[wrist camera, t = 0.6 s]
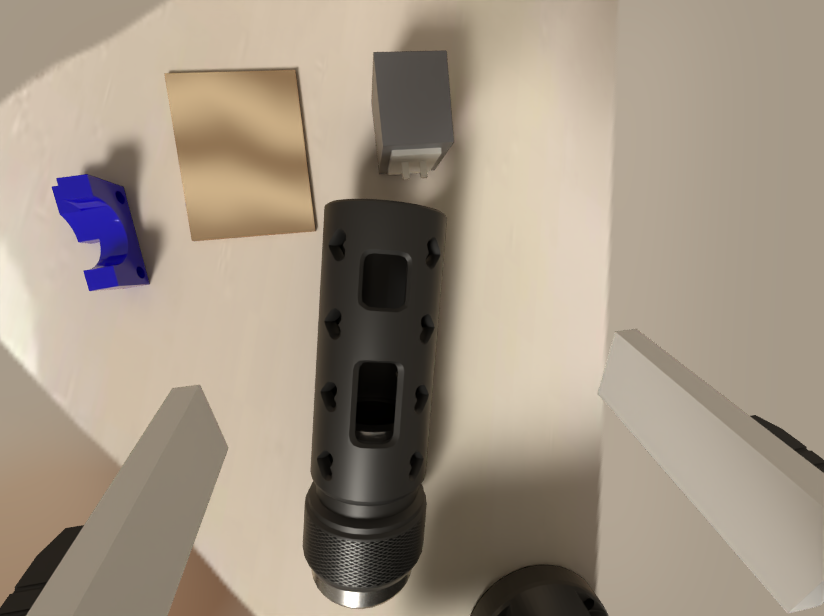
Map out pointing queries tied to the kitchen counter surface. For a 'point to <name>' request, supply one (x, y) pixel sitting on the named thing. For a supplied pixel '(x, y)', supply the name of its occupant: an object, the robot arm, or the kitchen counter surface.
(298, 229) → the mat
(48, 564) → the robot arm
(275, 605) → the kitchen counter surface
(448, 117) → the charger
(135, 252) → the cable holder
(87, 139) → the kitchen counter surface
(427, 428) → the muzzle brake
